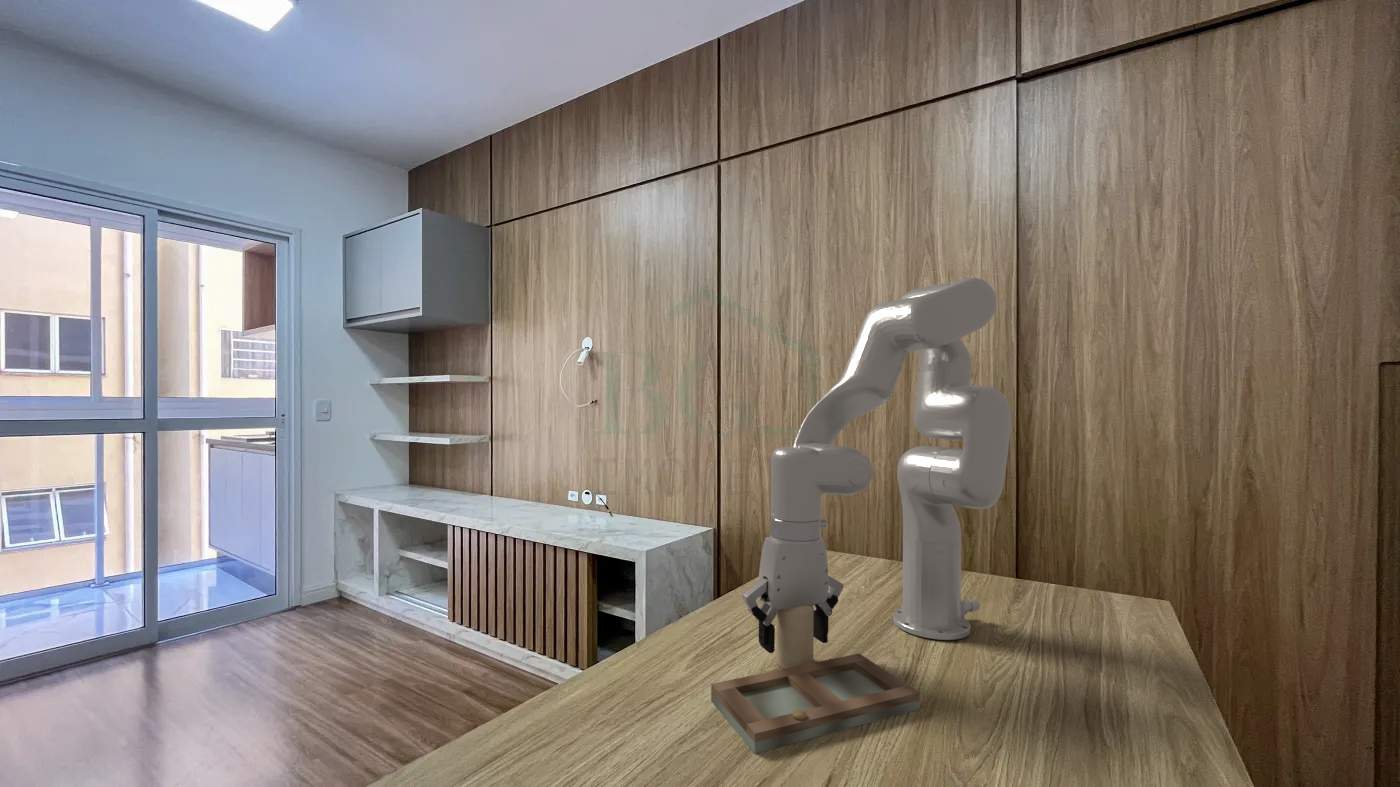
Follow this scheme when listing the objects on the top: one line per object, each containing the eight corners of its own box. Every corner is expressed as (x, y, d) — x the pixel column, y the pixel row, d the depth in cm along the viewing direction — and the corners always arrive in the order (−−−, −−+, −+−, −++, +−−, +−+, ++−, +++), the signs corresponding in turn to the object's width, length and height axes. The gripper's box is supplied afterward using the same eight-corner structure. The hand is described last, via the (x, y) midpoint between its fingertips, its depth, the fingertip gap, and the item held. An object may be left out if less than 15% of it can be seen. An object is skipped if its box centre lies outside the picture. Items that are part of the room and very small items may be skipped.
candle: (813, 673, 82) (813, 604, 82) (774, 669, 83) (775, 601, 83) (813, 657, 88) (813, 592, 88) (777, 653, 89) (777, 589, 89)
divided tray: (859, 668, 84) (859, 650, 84) (919, 709, 73) (919, 689, 73) (711, 700, 75) (711, 680, 75) (754, 753, 64) (754, 730, 64)
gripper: (828, 520, 92) (827, 627, 92) (732, 528, 86) (731, 643, 85) (858, 530, 85) (856, 645, 85) (756, 539, 79) (754, 665, 79)
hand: (793, 644), depth 85 cm, fingers open, 8 cm apart
